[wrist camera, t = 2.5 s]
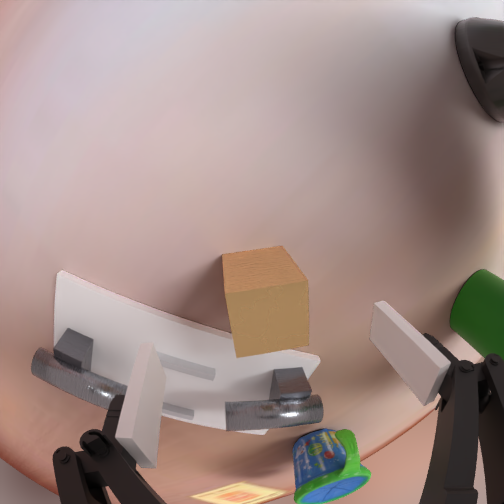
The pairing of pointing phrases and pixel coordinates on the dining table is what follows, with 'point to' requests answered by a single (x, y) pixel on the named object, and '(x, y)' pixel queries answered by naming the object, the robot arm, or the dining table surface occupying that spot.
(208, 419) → the base plate
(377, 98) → the dining table surface
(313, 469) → the snack cup
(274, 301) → the block
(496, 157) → the dining table surface
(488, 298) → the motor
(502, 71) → the robot arm
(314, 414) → the shaft
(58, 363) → the shaft
